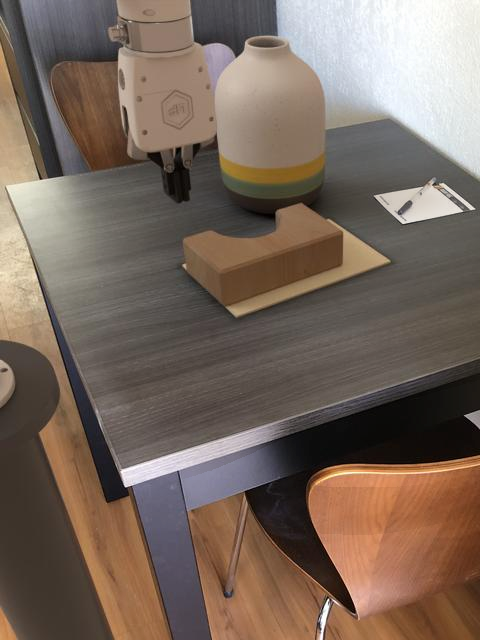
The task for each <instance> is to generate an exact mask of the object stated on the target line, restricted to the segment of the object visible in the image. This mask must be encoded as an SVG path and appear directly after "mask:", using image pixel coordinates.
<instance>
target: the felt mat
mask: <svg viewBox="0 0 480 640" xmlns="http://www.w3.org/2000/svg"><path fill="white" fill-rule="evenodd" d="M326 220H327V221H329V222H330V223H332V224H333V225H335V226H336V227H338V228H339V229H340V230H342V231H343V263H342V264H341V265H339V266H337V267H334V268H331V269H328V270H326V271H323V272H320V273H317V274H314V275H312V276H309V277H306V278H303V279H300V280H297V281H294V282H292V283H289V284H286V285H283V286H280V287H278V288H275V289H272V290H269V291H266V292H264V293H261V294H258V295H255V296H252V297H249V298H247V299H244V300H241V301H238V302H235V303H232V304H230V305H227V306H224V307H225V308H226V309H227V310H228V311H229V312H230V313H231V314H232V315H233V316H234V317H235V318H236V319H237V318H241V317H243V316H246V315H249V314H251V313H255V312H257V311H260V310H262V309H266V308H268V307H271V306H275V305H277V304H281V303H282V302H285V301H288V300H291V299H293V298H296V297H299V296H303V295H305V294H308V293H310V292H314V291H316V290H319V289H321V288H324V287H327V286H330V285H333V284H335V283H338V282H341V281H344V280H346V279H349V278H352V277H355V276H358V275H360V274H363V273H366V272H368V271H371V270H375V269H377V268H380V267H383V266H385V265H388V264H391V260H390V259H389V258H387V257H386V256H384V255H383V254H381V253H380V252H378V251H377V250H375V249H374V248H373V247H371V246H369V245H368V244H366V242H364V241H362V240H361V239H360V238H358V237H357V236H355V235H354V234H353V233H351V232H349V231H348V230H347V229H345V228H343V227H342V226H340V225H339V224H337V223H336V222H335V221H333V220H332V219H330V218H327V219H326ZM181 266H182V268H183V269H185V271H187V269H186V263H183V264H181Z"/></svg>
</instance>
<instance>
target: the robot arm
mask: <svg viewBox="0 0 480 640" xmlns="http://www.w3.org/2000/svg"><path fill="white" fill-rule="evenodd" d="M191 6H192V5H191V0H116V7H117V13H118V16H116V20H117V24H115V25H114V26H109V27H108V29H107V33H108V36H109V39H110V41H111V42H112V43H113V42H118V43H121V45H123V47H120V48H118V55H117V83H118V85H117V86H118V100H119V108H120V109H119V110H120V117H121V124H122V130H123V133H124V136H125V137H126V139H127V147H126V153H127V156H129V157H130V158H131V159H132V160H134V161H151V162H153V163H154V164H155V165H157V166H158V167H160V174H161V181H162V182H161V183H162V188H163V192H164V193H165V195H166V196H167V197H168V198H170V199H171V200H172V201H173V202H174V203H176V204H177V205H179V204H181V203H182V202H184V203H187V202H190V200H191V198H190V191H191V190H192V182H191V175H190V169H191V167H192V166H193V164H194V163H193V161H194V159H195V157H196V156H197V155H198V153H199V151H200V149H204V148H205V147H207V146H209V145H211V144H213V143H214V142H215V136H217V118H216V110H215V103H214V98H215V96H214V92H213V91H214V90H213V86H212V81H211V76H210V71H209V68H208V63H207V59H206V56H205V52H204V49H203V45H202V44H201V43H198V42H195V38H194V28H193V26H194V25H193V16H192V8H191ZM171 150H173V153H172V152H171ZM172 154H173V156H172ZM15 385H16V383H15V377H14V374H13V372H12V369H11V368H10V367H9V365H8V364H6V363H5V362H4V361H2V360H0V408H1V407H2V406H3V405H5V404H6V402H7V401H8V400H9V399H10V397H11V396H12V394H13V392H14V390H15Z"/></svg>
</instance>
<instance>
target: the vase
mask: <svg viewBox="0 0 480 640" xmlns="http://www.w3.org/2000/svg"><path fill="white" fill-rule="evenodd" d="M325 98H326V97H325V92H324V89H323V85H322V82H321V80H320V78H319V76H318V74H317V72H316V71H315V70H314V69H313V67H311V66H310V64H308V62H306V61H304V60H303V59H302V58H300V57H299V56H298V55H297V54H295V53H294V51H292V48H291V45H290V41H289V40H288V39H287V38H284V37H282V36H277V35H258V36H252V37H250V38H248V39H246V40H245V42H244V49H243V51H242V52H241V53H240V54H239V55H238V56H237V57H236V58H235V59H233V60H232V61H231V62H230V63H229V64H228V65H227V66H226V67H225V68H224V69H223V71H222V72H221V73H220V75H219V77H218V79H217V83H216V86H215V89H214V103H215V110H216V118H217V132H216V137H217V148H218V156H219V165H220V174H221V180H222V184H223V186H224V189H225V192H227V195H228V196H229V198H230V199H231V200H232V201H233V202H234V204H236V205H237V206H239V207H240V208H242V209H245V210H247V211H249V212H253V213H258V214H264V215H276V211H277V210H279V209H283V208H286V207H289V206H293V205H296V204H299V203H302V204H304V205H305V206H307V207H308V206H309V205H311V204H313V202H315V201H316V200H317V198H318V197H319V195H320V193H321V191H322V188H323V185H324V181H325V173H326V99H325Z"/></svg>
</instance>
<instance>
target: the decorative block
mask: <svg viewBox="0 0 480 640" xmlns="http://www.w3.org/2000/svg"><path fill="white" fill-rule="evenodd" d="M275 229H276V230H275V231H273V232H271V233H269V234H266V235H262V236H257V237H251V238H249V237H245V238H244V237H232V236H229V235H222V234H220V233H218V232H217V231H214V230H212V229H211V230H206V231H203V232H200V233H197V234H194V235H190V236H186V237H184V238H183V240H182V247H183V254H184V262H185V264H186V269H187V270H186V269H185V270H186V273H187V274H189V275H190V277H192V278H193V279H194V280H195V281H196V282H197V283H198V284H200V285H201V286H202V287H203V288H204V289H205V290H206V291H207V292H208V293H209V294H210V295H211V296H212V297H213V298H214V299H216V300H217V301H218V303H220V304H221V305H222V306H224V307H225V306H227V305H230V304H232V303H235V302H238V301H241V300H244V299H247V298H249V297H252V296H255V295H258V294H261V293H264V292H266V291H269V290H272V289H275V288H278V287H280V286H283V285H286V284H289V283H292V282H294V281H297V280H300V279H303V278H306V277H309V276H312V275H314V274H317V273H320V272H323V271H326V270H328V269H331V268H334V267H337V266H339V265H341V264H342V263H343V231H342V230H340V229H339V228H338V227H336V226H335V225H333V224H332V223H330V222H329V221H327V219H326V218H325V217H323V216H321V214H318V213H317V212H316V211H314V210H312V209H311V208H310V207H308V206H305V205H304V204H302V203H299V204H296V205H293V206H289V207H286V208H283V209H279V210H277V211H276V214H275Z"/></svg>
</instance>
